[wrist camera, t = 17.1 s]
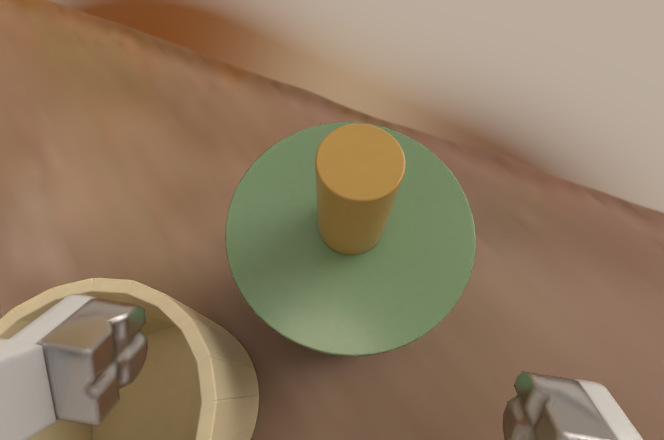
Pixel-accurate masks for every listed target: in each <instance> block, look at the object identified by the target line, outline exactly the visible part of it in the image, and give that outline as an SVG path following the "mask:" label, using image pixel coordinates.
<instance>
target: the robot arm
mask: <svg viewBox="0 0 664 440" xmlns="http://www.w3.org/2000/svg"><path fill="white" fill-rule="evenodd" d="M145 323H146V315H145V309H144V308H142V307H141V306H139V305H134V304H129V303H124V302H119V301H114V300H108V299H103V298H96V297H91V296H86V295H81V294H72V295H68V296H66V297H65V298H64V299H62V300H61V301H60V302H58V303H57V304H56V305H54V306H53V307H52V308H50V309H49V310H48V311H46V312H45V313H43V314H42V315H41V316H39V317H38V318H37V319H35V320H34V321H33V322H31V323H30V324H29V325H27V326H26V327H24V328H23V329H22V330H20V331H19V332H18V333H16V334H15V335H14V336H12V337H11V338H10V339H2V338H0V440H28V439H30V438H31V437H33V436H35V435H36V434H38V433H40V432H41V431H43V430H44V429H46V428H48V427H49V426H51V425H53V424H54V423H56V420H63V421H69V422H75V423H82V424H88V425H95V426H99V425H100V424H101V423H102V422H103V420H104V419H105V418H106V416H107V415H108V414H109V413H110V411H111V410H112V409H113V407H114V406H115V405H116V404H117V402H118V401H119V400H120V394H119V389H121V388H123V387H125V386H127V385H129V384H131V383H133V381H134V380H135V379H136V377H137V376H138V374H139V373H140V372H141V369H142V367H143V365H144V362H145V360H146V356H147V350H148V342H147V338H146V336H145V335H144V334H143V332H142V331H141V330H140V329H141V327H142V326H143V325H144V324H145ZM514 387H515V389H516V391H517V394H518V395H517V396H516V397H514V398H513V399H511V400H510V401H508V402H507V405H506V408H505V411H504V414H503V432H504V439H505V440H643V439H642V437H641V436H640V434H639V433H638V432H637V430H636V429H635V427H634V426H633V425H632V423H631V422H630V421H629V419H628V418H627V416H626V415H625V414H624V412H623V411H622V409H621V408H620V407H619V405H618V404H617V403H616V401H615V400H614V398H613V397H612V396H611V394H610V393H609V391H608V390H607V389H606V388H605V387H604V386H603V385H601V384H600V383H598V382H591V381H585V380H578V379H567V378H561V377H555V376H549V375H543V374H537V373H530V372H524V371H523V372H522V373H521V374H520V375H519V376H518V377H517V380H516V382H515V384H514Z"/></svg>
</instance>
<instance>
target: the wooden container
mask: <svg viewBox="0 0 664 440" xmlns="http://www.w3.org/2000/svg"><path fill="white" fill-rule="evenodd" d="M72 294H81V295H86V296H91V297H96V298H103V299H108V300H114V301H119V302H124V303H129V304H134V305H139V306H141V307H142V308H144V309H145V315H146V323H145V324H144V325H143V326H142V327H141V329H140V330H141V331H142V332H143V334H144V335H145V336H146V338H147V342H148V350H147V356H146V360H145V362H144V365H143V367H142V369H141V372H140V373H139V374H138V376H137V377H136V379H135V380H134V381H133V383H131V384H129V385H127V386H125V387H123V388H121V389H119V394H120V400H119V401H118V402H117V404H116V405H115V406H114V407H113V409H112V410H111V411H110V413H109V414H108V415H107V416H106V418H105V419H104V420H103V422H102V423H101V424H100V425H99V426H95V425H88V424H82V423H75V422H69V421H63V420H56V423H54V424H53V425H51V426H49V427H48V428H46V429H44V430H43V431H41V432H40V433H38V434H36V435H35V436H33V437H31V438H30V439H28V440H251V437H252V434H253V432H254V428H255V425H256V421H257V416H258V408H259V388H258V380H257V376H256V372H255V369H254V366H253V363H252V361H251V359H250V357H249V355H248V353H247V351H246V350H245V349H244V347H243V346H242V345H241V343H240V342H239V341H238V340H237V339H236V338H235V337H234V336H233V335H232V334H230V333H229V332H228V331H227V330H226V329H225V328H223V327H222V326H220V325H218V324H217V323H215V322H213V321H211V320H210V319H208V318H206V317H205V316H203V315H201V314H199V313H198V312H196V311H194V310H193V309H191V308H189V307H187V306H186V305H184V304H182V303H180V302H179V301H177V300H175V299H174V298H172V297H170V296H168V295H167V294H165V293H162V292H160V291H158V290H155V289H153V288H150V287H148V286H146V285H143V284H141V283H138V282H136V281H132V280H124V279H108V278H90V279H86V280H82V281H77V282H73V283H69V284H65V285H60V286H56V287H53V288H50V289H48V290H46V291H45V292H43V293H41V294H39V295H37V296H35V297H33V298H31V299H29V300H28V301H26V302H24V303H22V304H20V305H18V306H16V307H14V308H13V309H12V310H10V311H9V312H8V313H6V314H5V315H4V316H3V317H2V318H1V319H0V338H2V339H10V338H11V337H12V336H14V335H15V334H16V333H18V332H19V331H20V330H22V329H23V328H24V327H26V326H27V325H29V324H30V323H31V322H33V321H34V320H35V319H37V318H38V317H39V316H41V315H42V314H43V313H45V312H46V311H48V310H49V309H50V308H52V307H53V306H54V305H56V304H57V303H58V302H60V301H61V300H62V299H64V298H65V297H66V296H68V295H72Z"/></svg>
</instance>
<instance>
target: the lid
mask: <svg viewBox="0 0 664 440" xmlns="http://www.w3.org/2000/svg"><path fill="white" fill-rule="evenodd" d="M225 241H226V252H227V257H228V261H229V266H230V270H231V272H232V275H233V277H234V280H235V282H236V285H237V287H238V288H239V290H240V292H241V294H242V295H243V297H244V299H245V300H246V301H247V303H248V304H249V305H250V307H251V308H252V309H253V310H254V312H255V313H256V314H257V315H258V316H259V317H260V318H261V319H262V320H263V321H264V322H265V323H266V324H267V325H268V326H269V327H271V328H272V329H273V330H275V331H276V332H278V333H279V334H280V335H282V336H283V337H285V338H287V339H288V340H290V341H292V342H294V343H296V344H298V345H300V346H303V347H305V348H308V349H311V350H314V351H316V352H321V353H326V354H330V355H337V356H350V357H354V356H370V355H375V354H380V353H385V352H388V351H391V350H394V349H397V348H400V347H403V346H405V345H407V344H409V343H411V342H412V341H414V340H416V339H418V338H420V337H422V336H423V335H425V334H426V333H427V332H429V331H430V330H431V329H433V328H434V327H436V326H437V325H438V324H439V323H440V322H441V321H442V320H443V319H444V318H445V317H446V316H447V315H448V314H449V312H450V311H451V310H452V308H453V307H454V306H455V305H456V303H457V302H458V300H459V298H460V297H461V295H462V293H463V291H464V289H465V288H466V285H467V282H468V280H469V277H470V274H471V271H472V267H473V262H474V257H475V243H476V240H475V227H474V222H473V217H472V212H471V209H470V206H469V203H468V201H467V198H466V196H465V194H464V192H463V190H462V188H461V186H460V184H459V183H458V181H457V180H456V178H455V177H454V175H453V174H452V172H451V171H450V170H449V169H448V168H447V167H446V165H445V164H444V163H443V162H442V161H441V160H440V159H439V158H438V157H437V156H436V155H434V154H433V153H432V152H431V151H430V150H428V149H427V148H426V147H424V146H423V145H421V144H420V143H418V142H417V141H415V140H413V139H411V138H409V137H408V136H406V135H403V134H401V133H399V132H396V131H394V130H391V129H388V128H384V127H381V126H377V125H371V124H366V123H354V122H341V123H330V124H323V125H318V126H315V127H311V128H307V129H304V130H302V131H299V132H297V133H294V134H292V135H290V136H288V137H286V138H284V139H282V140H281V141H279V142H278V143H276V144H275V145H273V146H272V147H270V148H269V149H268V150H267V151H266V152H264V153H263V154H262V155H261V156H260V157H259V158H258V159H257V160H256V161H255V162H254V163H253V164H252V166H251V167H250V168H249V169H248V170H247V172H246V173H245V175H244V176H243V178H242V179H241V181H240V183H239V185H238V187H237V189H236V191H235V193H234V195H233V198H232V201H231V204H230V207H229V210H228V216H227V221H226V234H225Z"/></svg>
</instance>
